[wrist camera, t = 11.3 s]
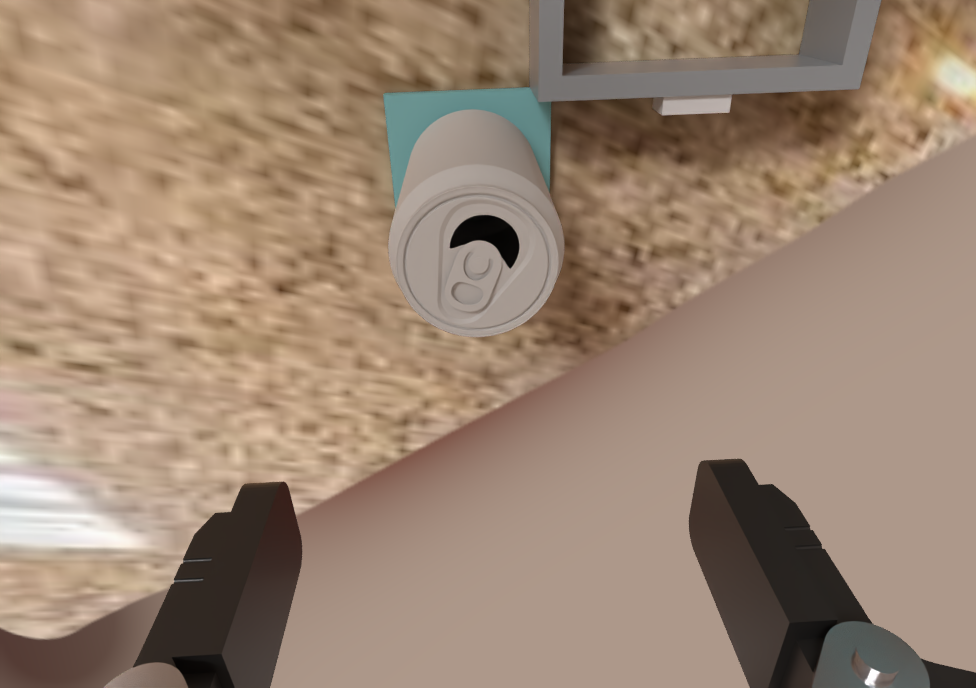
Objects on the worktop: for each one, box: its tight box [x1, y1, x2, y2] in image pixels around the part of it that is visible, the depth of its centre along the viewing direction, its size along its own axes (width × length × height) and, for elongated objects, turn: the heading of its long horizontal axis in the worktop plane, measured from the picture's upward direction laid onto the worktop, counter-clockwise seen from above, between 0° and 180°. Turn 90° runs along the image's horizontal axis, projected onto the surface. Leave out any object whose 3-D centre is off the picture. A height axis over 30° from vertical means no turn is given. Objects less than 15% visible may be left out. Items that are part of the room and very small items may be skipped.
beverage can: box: [388, 109, 564, 337], centre depth 27 cm, size 6×6×12 cm
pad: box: [383, 87, 551, 208], centre depth 33 cm, size 8×8×1 cm
